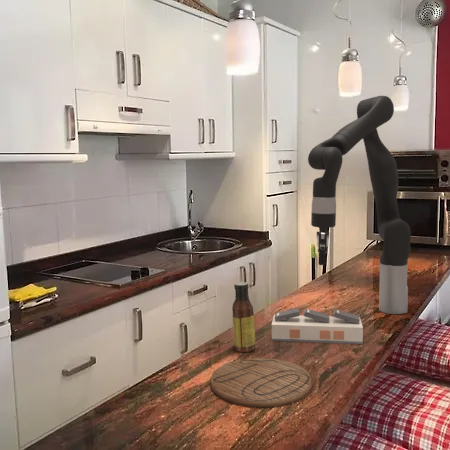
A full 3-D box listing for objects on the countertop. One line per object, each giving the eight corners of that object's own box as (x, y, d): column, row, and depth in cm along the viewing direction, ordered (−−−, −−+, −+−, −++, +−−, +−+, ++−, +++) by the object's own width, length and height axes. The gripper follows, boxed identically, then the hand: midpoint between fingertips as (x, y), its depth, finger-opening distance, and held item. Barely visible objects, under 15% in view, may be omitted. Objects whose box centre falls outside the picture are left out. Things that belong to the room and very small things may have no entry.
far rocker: (300, 313, 164) (298, 307, 163) (299, 317, 160) (298, 311, 159) (276, 318, 165) (275, 313, 165) (276, 322, 161) (274, 317, 161)
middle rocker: (327, 320, 162) (329, 314, 162) (327, 324, 158) (329, 318, 158) (303, 313, 163) (305, 307, 163) (303, 317, 159) (305, 311, 159)
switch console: (359, 332, 164) (359, 317, 164) (362, 344, 154) (363, 328, 154) (274, 329, 169) (274, 314, 168) (271, 340, 159) (271, 325, 158)
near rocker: (357, 321, 161) (358, 315, 161) (358, 325, 157) (359, 319, 157) (332, 314, 162) (334, 308, 162) (333, 318, 158) (335, 312, 158)
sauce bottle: (257, 346, 154) (256, 281, 152) (252, 354, 148) (250, 286, 146) (236, 344, 156) (235, 280, 154) (230, 351, 151) (228, 285, 148)
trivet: (190, 385, 130) (189, 378, 130) (257, 357, 147) (257, 350, 147) (265, 420, 112) (265, 412, 112) (331, 383, 130) (331, 376, 129)
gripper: (336, 214, 155) (334, 267, 157) (335, 209, 169) (334, 258, 171) (310, 213, 156) (309, 266, 158) (312, 208, 170) (311, 257, 172)
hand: (322, 262), depth 165 cm, fingers open, 8 cm apart
